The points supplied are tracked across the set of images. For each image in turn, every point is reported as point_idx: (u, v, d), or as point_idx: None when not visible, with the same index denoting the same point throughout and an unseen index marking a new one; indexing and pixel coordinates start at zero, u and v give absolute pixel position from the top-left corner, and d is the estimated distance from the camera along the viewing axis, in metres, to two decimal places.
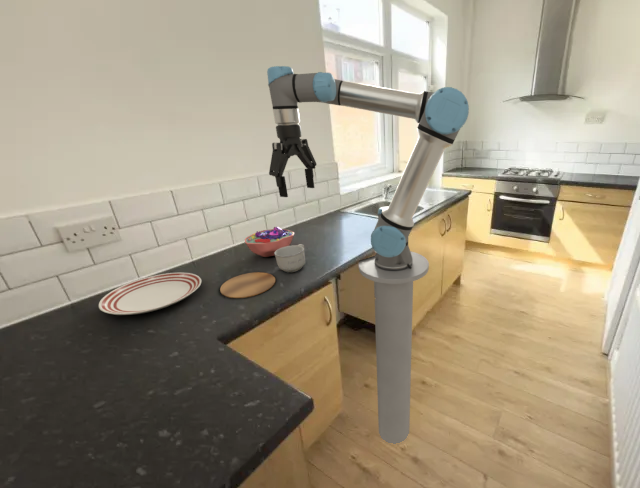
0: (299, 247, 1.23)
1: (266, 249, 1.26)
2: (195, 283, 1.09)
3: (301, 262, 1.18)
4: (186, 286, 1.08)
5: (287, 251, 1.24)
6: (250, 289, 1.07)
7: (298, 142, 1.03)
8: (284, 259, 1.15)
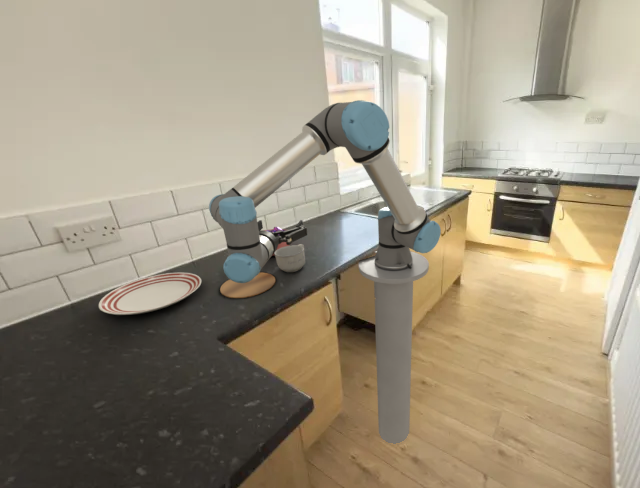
0: (299, 247, 1.23)
1: None
2: (195, 283, 1.09)
3: (301, 262, 1.18)
4: (186, 286, 1.08)
5: (287, 251, 1.24)
6: (250, 289, 1.07)
7: None
8: (284, 259, 1.15)
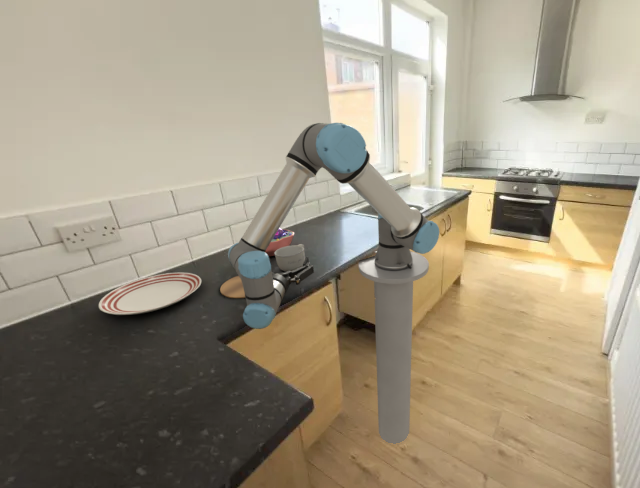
0: (299, 247, 1.23)
1: (266, 249, 1.26)
2: (195, 283, 1.09)
3: (301, 262, 1.18)
4: (186, 286, 1.08)
5: (287, 251, 1.24)
6: None
7: None
8: (284, 259, 1.15)
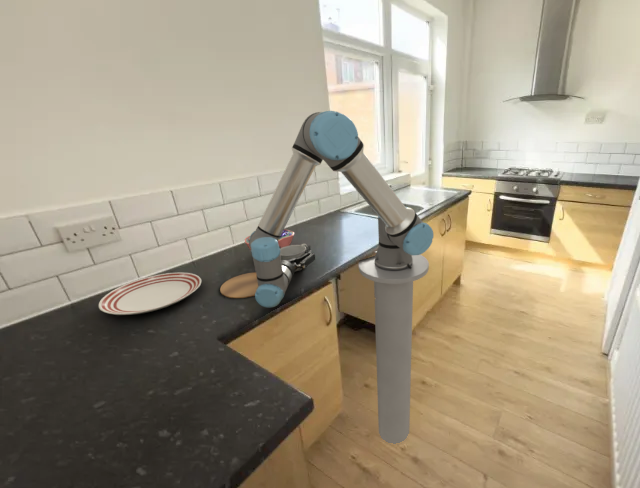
0: (302, 247, 1.23)
1: None
2: (195, 283, 1.09)
3: None
4: (186, 286, 1.08)
5: (290, 250, 1.25)
6: (250, 289, 1.07)
7: None
8: (286, 258, 1.15)
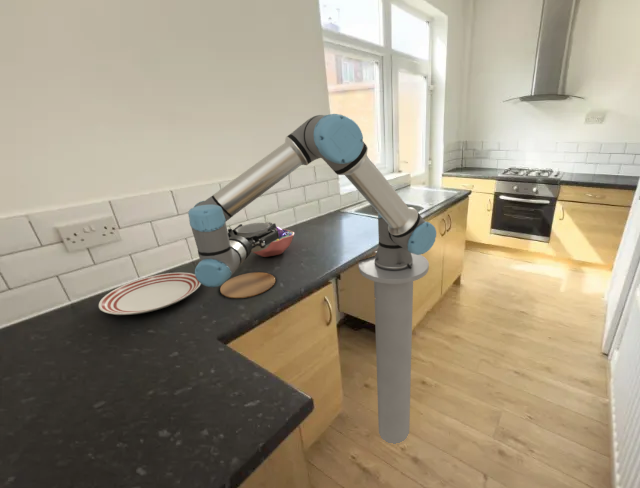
0: (266, 225, 1.10)
1: (266, 249, 1.26)
2: (195, 283, 1.09)
3: None
4: (186, 286, 1.08)
5: (253, 229, 1.11)
6: (250, 289, 1.07)
7: None
8: (245, 236, 1.02)
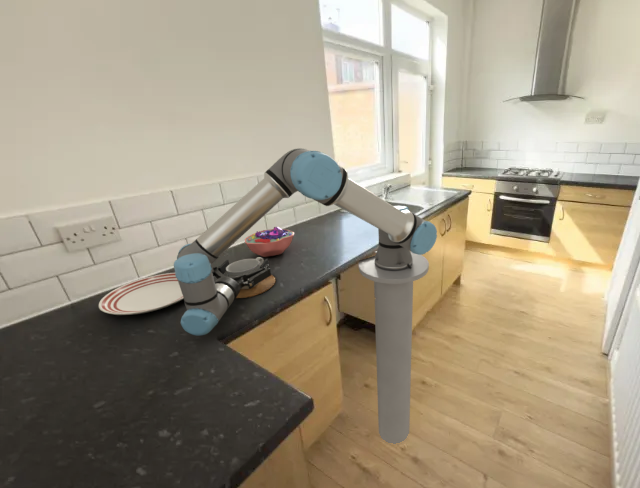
0: (256, 261, 1.11)
1: (266, 249, 1.26)
2: None
3: None
4: None
5: (244, 265, 1.12)
6: (250, 289, 1.07)
7: None
8: (234, 275, 1.03)
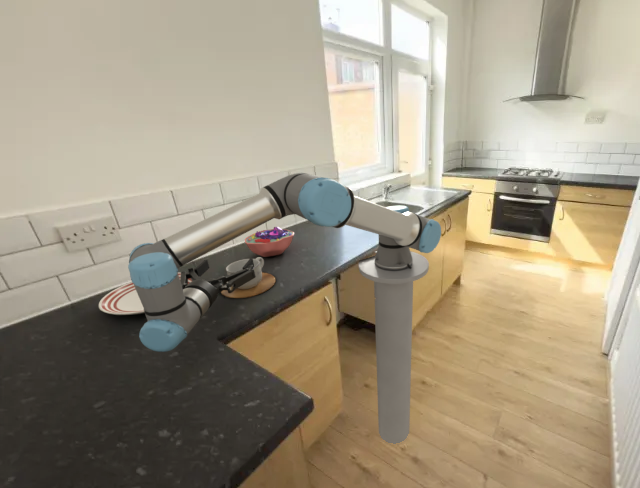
0: (256, 261, 1.11)
1: (266, 249, 1.26)
2: None
3: (255, 278, 1.06)
4: None
5: None
6: (250, 289, 1.07)
7: None
8: None
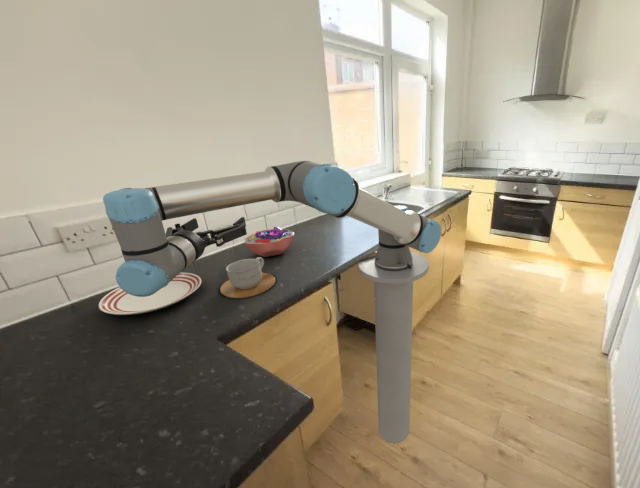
0: (256, 261, 1.11)
1: (266, 249, 1.26)
2: (195, 283, 1.09)
3: (255, 278, 1.06)
4: (186, 286, 1.08)
5: (244, 265, 1.12)
6: (250, 289, 1.07)
7: None
8: (234, 275, 1.03)
